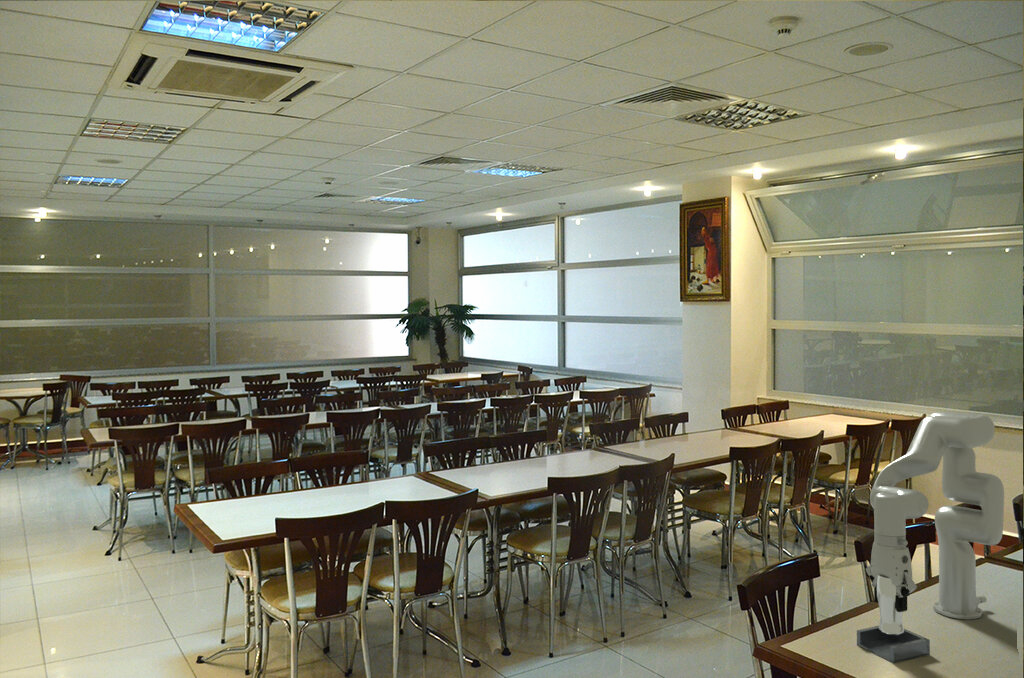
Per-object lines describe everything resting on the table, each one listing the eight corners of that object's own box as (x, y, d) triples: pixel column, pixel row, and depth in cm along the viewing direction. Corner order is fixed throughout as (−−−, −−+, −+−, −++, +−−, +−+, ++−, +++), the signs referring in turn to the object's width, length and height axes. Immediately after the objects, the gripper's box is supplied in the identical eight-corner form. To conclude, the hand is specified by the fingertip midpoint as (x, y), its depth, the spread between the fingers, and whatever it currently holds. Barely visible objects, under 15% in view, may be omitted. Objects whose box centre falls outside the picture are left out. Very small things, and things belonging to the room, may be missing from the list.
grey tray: (891, 637, 218) (891, 622, 217) (929, 654, 206) (929, 639, 206) (856, 644, 213) (856, 630, 213) (893, 663, 202) (893, 648, 201)
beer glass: (909, 636, 205) (908, 579, 205) (880, 635, 207) (880, 578, 206) (901, 626, 212) (901, 571, 212) (874, 624, 213) (873, 570, 213)
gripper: (928, 546, 202) (928, 615, 202) (875, 530, 218) (875, 594, 218) (906, 550, 199) (906, 620, 200) (854, 533, 215) (854, 597, 216)
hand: (890, 605), depth 209 cm, fingers closed on beer glass, 6 cm apart
